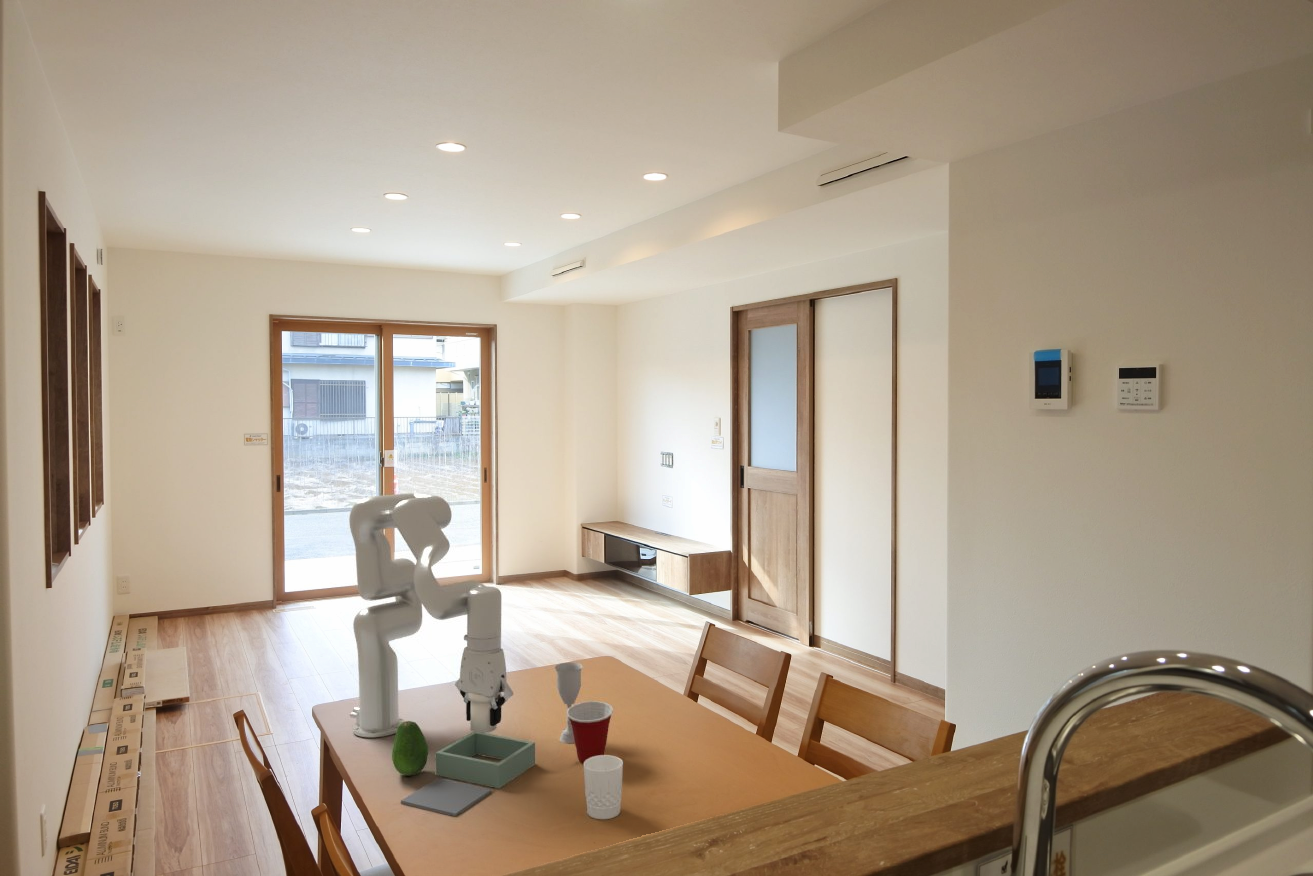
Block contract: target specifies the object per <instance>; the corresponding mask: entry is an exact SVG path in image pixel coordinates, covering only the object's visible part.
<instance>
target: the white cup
mask: <svg viewBox="0 0 1313 876" xmlns="http://www.w3.org/2000/svg"><path fill="white" fill-rule="evenodd" d="M623 768H624V762H623V760H622V759H621V758H619V757H618V756H615V755H609V754H608V755H607V754H604V755H599V756H594V757H591V758H588V759H587V760H585V762H584V764H583V773H584V774H583V775H584V776H583V777H584V793H585V801H586V814H587V815H588V816H589V817H590V818H593V819H595V820H609V819H613V818H615V817H617V816H618V815H619V814H620V813H621V804H622V803H621V802H622V801H621V800H622V794H623V793H622V792H623V770H624V769H623Z"/></svg>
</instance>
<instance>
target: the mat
mask: <svg viewBox="0 0 1313 876" xmlns="http://www.w3.org/2000/svg"><path fill="white" fill-rule="evenodd" d="M492 792H493V791H492V789H491V788H488V787H483V786H479V785H474V784H469V783H464V782H462V781H461V782H460V781H455V780H451V779H447V778H442V777H438V778H436V779H434V780H432V781H431V782H429V783H427V784H426V785H424V786H422V787H421V788H420V789H418V790H416V791H414V792H413V793H411V794H409V795H408V796H406V797H404V798H402V799H401V800H400V804H403V805H406V806H410V807H413V808H414V807H415V808H418V809H423V810H427V811H431V812H435V813H440V814H443V815H447V814H448V815H447V816H451V815H452V817H455V818H456V817H457V816H458V814H459V815H460V814H462V813H463V812H465V811H466V810H468V809H469V808H470V807H472V806H473V805H475V804H476V803H478V802H479V801H481V800H482V799H484V798H485V797H487V796H488V795H490V794H491V793H492ZM489 793H490V794H489ZM486 795H487V796H486Z"/></svg>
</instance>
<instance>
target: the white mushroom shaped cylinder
mask: <svg viewBox="0 0 1313 876" xmlns="http://www.w3.org/2000/svg"><path fill="white" fill-rule="evenodd" d="M495 697H496V700H497V699H498V695H497V696H495ZM468 700H469V701H471V716H470V721H469V722H470V731H471V732H476V733H487V734H488V733H490V732H493V731H495V730H496V729H497V728H498V727H497V725H498V724H496V725H495V726H491V725H490V709H491V708H493V707H492V704H491V702H492V697H486V696H483V695H478V694H473V693H468Z"/></svg>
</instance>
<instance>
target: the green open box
mask: <svg viewBox="0 0 1313 876" xmlns="http://www.w3.org/2000/svg"><path fill="white" fill-rule="evenodd" d="M477 754H479V756H482V755H484V756H483V757H487V758H492V757H493V758H492V759H497V758H498V760H500V761H499V762H493V761H489V760H484V759H479V758H474V757H473V756H475V755H477ZM502 759H503V760H502ZM534 764H535V765H536V742H535V741H529V740H523V739H518V738H514V737H507V736H503V735H499V734H498V735H497V734H491V733H488V732H487V733H476V732H473V731H471V732H470V733H469V734H467V735H465V736H463V737H462V738H460V739H457V740H456V741H454V742H453V743H450V744H449V745H447V746H445V747H443V748H441V749H440V750H438V751H436V752H435V775H436V776H439V775H440V776H439V777H443V776H444V778H448V777H449V778H450V779H453V780H457V779H458V780H457V781H461V782H466V781H467V783H471V784H475V783H477V784H476V785H480V784H481V786H484V785H485V786H484V787H489V786H490V788H493V787H495V788H494V789H498V788H499V789H501V788H502V787H503V785H504V786H506V785H507V784H509V781H510V782H511V781H513V780H514V779H515V777H516V778H517V777H518V775H519V774H520V775H522V774H523V773H524V772H526V771H528V770H529V769H531V768H532V767H533V766H534ZM531 766H532V767H531ZM528 768H529V769H528ZM520 775H519V776H520ZM449 778H448V779H449ZM512 779H513V780H512ZM506 783H507V784H506ZM500 787H501V788H500Z"/></svg>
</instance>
